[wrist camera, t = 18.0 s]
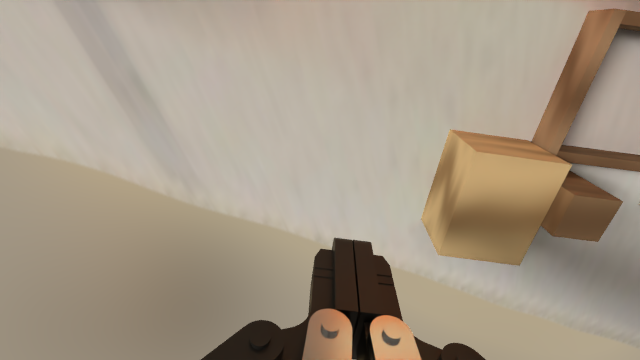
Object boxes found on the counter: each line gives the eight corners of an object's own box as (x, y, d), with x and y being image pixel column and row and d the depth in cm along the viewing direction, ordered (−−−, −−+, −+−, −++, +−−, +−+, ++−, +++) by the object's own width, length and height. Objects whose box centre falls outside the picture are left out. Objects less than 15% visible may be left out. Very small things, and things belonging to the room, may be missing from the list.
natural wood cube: (449, 128, 23) (476, 151, 19) (526, 139, 24) (572, 164, 19) (420, 217, 27) (438, 254, 22) (488, 226, 27) (519, 265, 23)
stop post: (520, 158, 24) (574, 195, 19) (557, 163, 24) (623, 201, 19) (505, 192, 25) (552, 236, 20) (541, 197, 25) (597, 241, 20)
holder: (589, 11, 20) (614, 8, 18) (731, 31, 20) (771, 30, 18) (528, 149, 24) (544, 159, 22) (647, 165, 24) (673, 176, 22)
